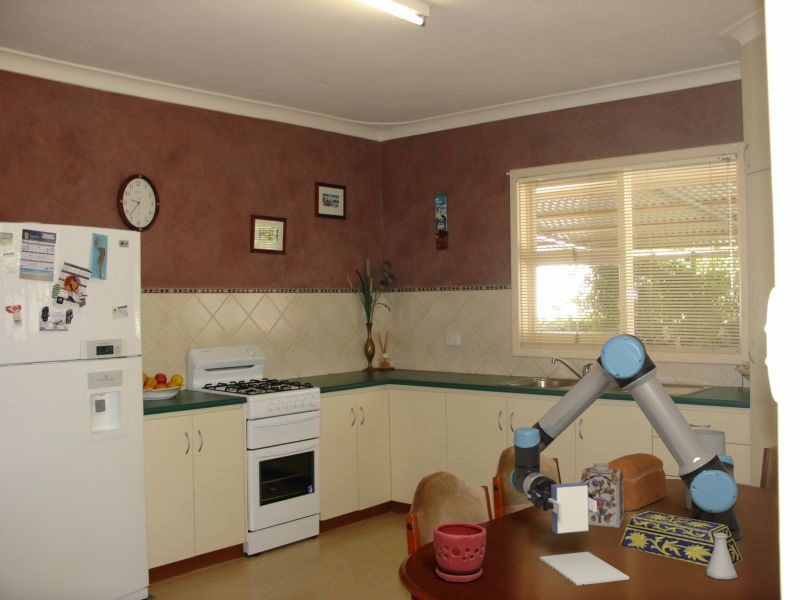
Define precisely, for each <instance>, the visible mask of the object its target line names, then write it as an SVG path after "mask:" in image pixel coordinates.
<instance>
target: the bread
mask: <svg viewBox="0 0 800 600" xmlns="http://www.w3.org/2000/svg"><path fill="white" fill-rule="evenodd" d="M607 464H609V468H613V469H617V470H620V471H621V472H622V475H623V496H624V512H633V511H634V512H635V511H637V510H639V509H641V508H644V507H647V506H648V505H651V504H653V503H656V502H658V501H660V500H662V499H664V498H665V497H666V493H667V492H666V491H667V480H666V478H667V477H666V472H665V470H664V462H663V460H662V459H660V458H658V457H657V456H656V455H653V454H650V453H643V452H638V453H633V454H627V455H623V456H620V457H618V458H616V459H613V460H611V461H609V462H607Z"/></svg>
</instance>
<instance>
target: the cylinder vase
mask: <svg viewBox="0 0 800 600" xmlns="http://www.w3.org/2000/svg"><path fill="white" fill-rule="evenodd" d="M693 431H694V432H695V434H696V435H697V437H698V438H699V439H700V441H701V442H702V444H703V445H704V447H705V448H706V450H708V451H712V452H715V453H716V454H717V455H727V454H726V453H727V451H726V450H727V448H726V447H727V445H726V432H725V431H722V430H717V429H706V428H705V429H703V428H702V429H700V428H699V429H698V428H697V429H693ZM684 485H685V484H684ZM685 506H686V509H688V510H689V511H690V509H691V495H690V491H689V490H688V488H687V487H686V485H685Z"/></svg>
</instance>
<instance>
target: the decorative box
mask: <svg viewBox="0 0 800 600" xmlns="http://www.w3.org/2000/svg"><path fill="white" fill-rule="evenodd" d="M714 533H724V534H727V536H728V537H727V538H726V543H727V549H728V553H729V556H730V558H731V561H732V564H733V566H735V565H736V564H738V563H740V562H742V561H743V558H742V556H741V553H740V551H739V549H738V547H737V545H736V542H735V541H734V540H733V537H732V535H731V533H730V531H729V528H728V526H727V525H724V524H718V523H713V522H707V521H702V520H697V519H691V518H688V517H685V516H681V515H674V514H668V513H665V512H663V513H662V512H659V511H652V510H645V511H642V512H640V513H636V514H634V515H631V516H630V519H629V520H628V523H627V526H626V528H625V530H624V532H623V535H622V538H621V540H620V542H619V547H622V546H623V548H626V547H627V549H632V550H635V549H636V550H637V551H641V552H644V551H645V552H646V553H649V554H654V555H658V556H662V557H666V558H670V559H675V560H680V561H683V562H689V563H692V564H696V565H701V566H706V567H707V566H708V564H709V561H710V558H711V555H712V552H713V549H714V543H715V537H714V535H713V534H714ZM645 552H644V553H645Z"/></svg>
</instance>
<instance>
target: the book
mask: <svg viewBox="0 0 800 600" xmlns="http://www.w3.org/2000/svg"><path fill="white" fill-rule="evenodd" d="M551 499H553V500H555V501H557V502H559V503H561V504H562V515H559V514H557V513H555V512H553V511H551V531H552V532H554V533H555V534H556V535H558V534H559V535H560V534H561V535H562V534H569V533H570V534H571V533H572V534H573V533H582V532H589V531H590V526H589V509H588V485H587V484H585V483H583V482H581V483H580V482H571V483H570V482H569V483H557V484H554V485H551Z"/></svg>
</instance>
